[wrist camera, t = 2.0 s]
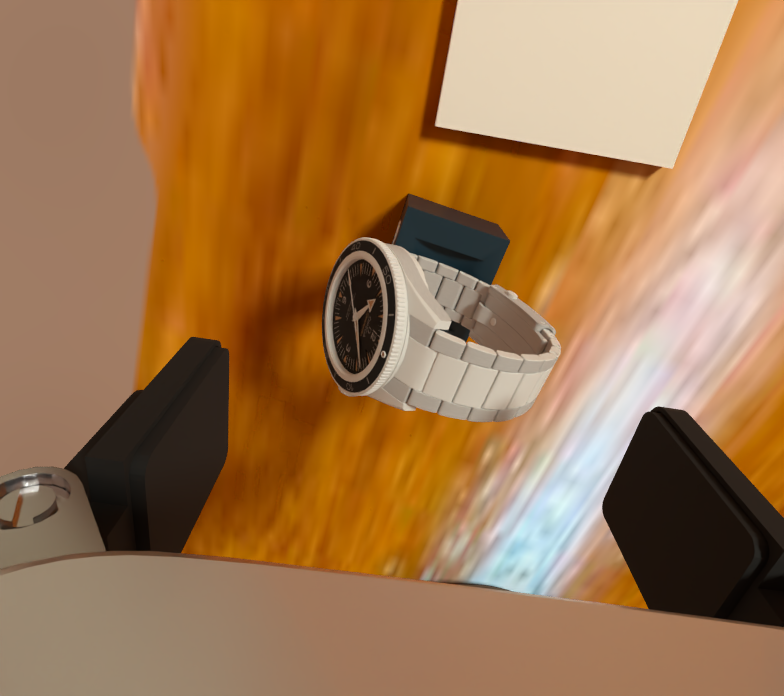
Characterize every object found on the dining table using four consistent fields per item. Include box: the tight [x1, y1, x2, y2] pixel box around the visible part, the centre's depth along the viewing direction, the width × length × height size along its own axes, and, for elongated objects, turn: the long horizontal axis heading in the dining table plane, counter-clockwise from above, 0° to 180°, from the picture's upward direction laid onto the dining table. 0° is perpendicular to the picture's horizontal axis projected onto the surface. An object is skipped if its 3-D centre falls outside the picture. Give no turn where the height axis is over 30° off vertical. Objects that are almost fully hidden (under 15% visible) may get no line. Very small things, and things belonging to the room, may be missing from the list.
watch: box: [322, 194, 561, 422], centre depth 19 cm, size 6×8×11 cm
